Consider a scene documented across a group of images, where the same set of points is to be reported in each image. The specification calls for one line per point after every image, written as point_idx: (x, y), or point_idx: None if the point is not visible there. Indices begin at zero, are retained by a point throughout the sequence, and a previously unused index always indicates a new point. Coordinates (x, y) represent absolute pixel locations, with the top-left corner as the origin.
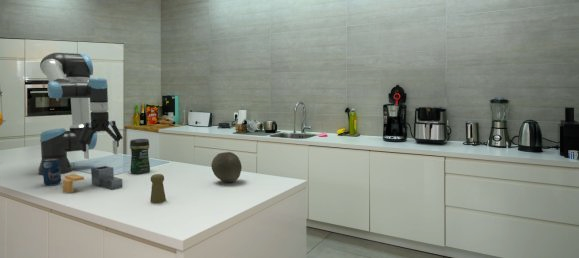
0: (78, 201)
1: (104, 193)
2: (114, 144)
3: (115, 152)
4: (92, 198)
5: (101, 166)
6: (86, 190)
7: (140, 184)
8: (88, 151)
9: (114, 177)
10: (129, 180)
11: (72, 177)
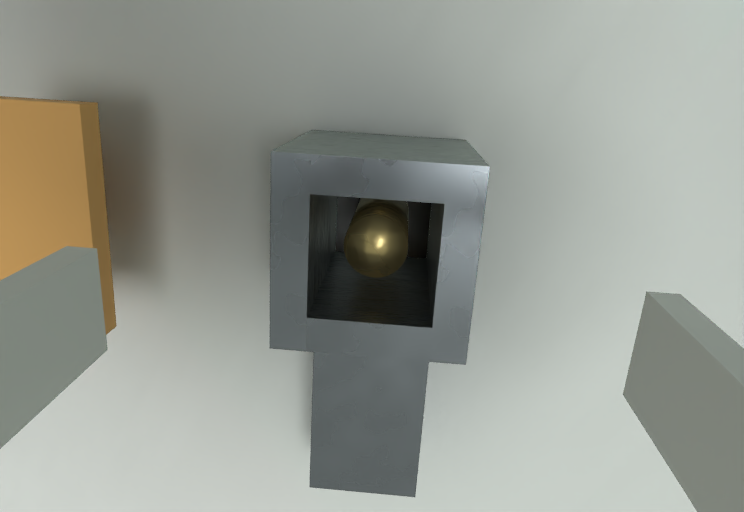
0: (30, 492)
1: (233, 470)
2: (742, 504)
3: (642, 396)
4: (120, 506)
5: (424, 161)
6: (184, 280)
7: (561, 481)
8: (21, 426)
9: (413, 388)
10: (624, 286)
11: (6, 266)
